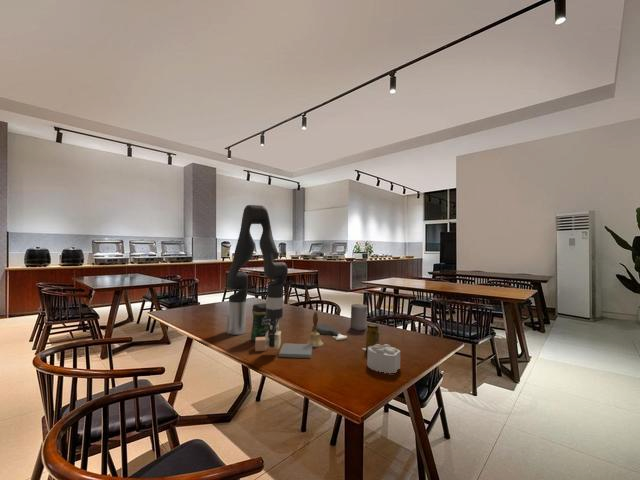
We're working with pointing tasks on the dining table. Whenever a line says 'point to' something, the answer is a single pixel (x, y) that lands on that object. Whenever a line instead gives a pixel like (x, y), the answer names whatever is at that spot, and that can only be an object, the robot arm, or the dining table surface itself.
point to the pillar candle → (358, 316)
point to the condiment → (371, 336)
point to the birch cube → (277, 340)
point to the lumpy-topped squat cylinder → (383, 358)
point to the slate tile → (296, 350)
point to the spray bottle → (329, 331)
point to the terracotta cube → (260, 344)
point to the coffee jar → (259, 321)
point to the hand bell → (315, 333)
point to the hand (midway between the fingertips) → (273, 344)
